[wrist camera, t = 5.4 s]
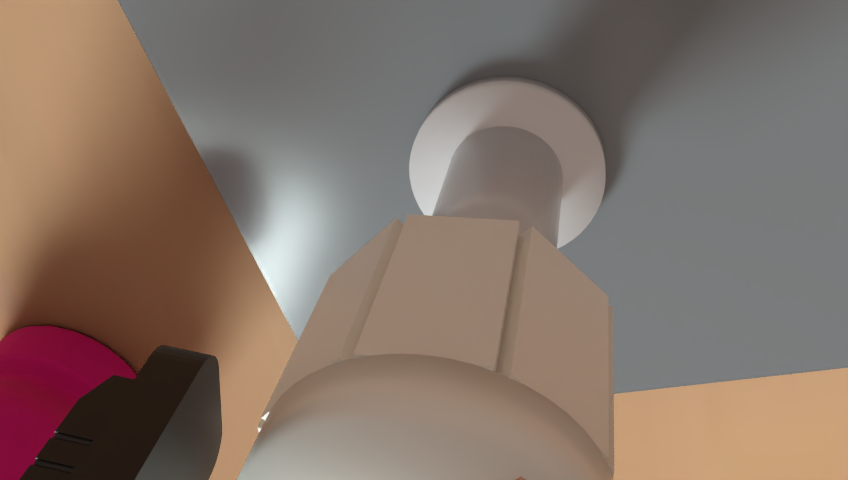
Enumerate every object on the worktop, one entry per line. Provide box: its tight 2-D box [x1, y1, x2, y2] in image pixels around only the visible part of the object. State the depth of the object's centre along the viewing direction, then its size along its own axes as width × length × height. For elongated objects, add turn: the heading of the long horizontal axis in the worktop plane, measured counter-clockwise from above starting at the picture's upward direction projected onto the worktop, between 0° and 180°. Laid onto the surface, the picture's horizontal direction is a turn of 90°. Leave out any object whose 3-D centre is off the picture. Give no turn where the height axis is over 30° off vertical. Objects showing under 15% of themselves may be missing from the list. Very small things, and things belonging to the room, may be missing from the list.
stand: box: [118, 0, 848, 394], centre depth 17 cm, size 16×16×12 cm
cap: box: [237, 214, 614, 480], centre depth 13 cm, size 5×5×5 cm
